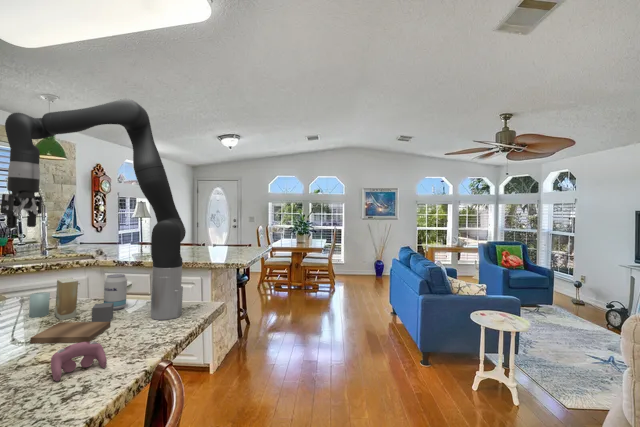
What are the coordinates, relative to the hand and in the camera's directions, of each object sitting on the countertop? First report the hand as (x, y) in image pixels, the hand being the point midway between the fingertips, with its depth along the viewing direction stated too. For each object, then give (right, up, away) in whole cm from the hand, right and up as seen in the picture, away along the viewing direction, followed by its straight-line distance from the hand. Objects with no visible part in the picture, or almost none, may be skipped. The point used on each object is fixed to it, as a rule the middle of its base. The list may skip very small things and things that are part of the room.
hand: (21, 227), depth 103 cm
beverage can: (+22, -30, +13) cm, 39 cm away
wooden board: (+26, -30, -12) cm, 41 cm away
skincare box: (+12, -30, +2) cm, 32 cm away
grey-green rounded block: (+3, -29, +3) cm, 30 cm away
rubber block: (+26, -30, 0) cm, 40 cm away
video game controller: (+42, -31, -31) cm, 61 cm away
